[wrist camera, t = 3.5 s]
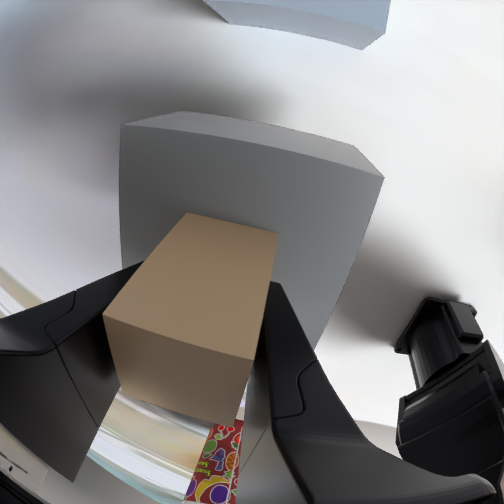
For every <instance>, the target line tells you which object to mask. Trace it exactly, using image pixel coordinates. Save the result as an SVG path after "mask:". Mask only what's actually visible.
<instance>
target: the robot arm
mask: <svg viewBox="0 0 504 504" xmlns="http://www.w3.org/2000/svg"><path fill="white" fill-rule="evenodd" d="M144 261H145V260H144ZM144 261H141V262H139V263H136V264H134V265H132V266H129V267H127V268H125V269H122V270H120V271H118V272H115V273H113V274H111V275H108V276H106V277H104V278H101V279H99V280H97V281H95V282H92V283H90V284H88V285H85V286H83V287H81V288H79V289H77V290H76V291H75V290H74V291H72V292H70V293H67V294H65V295H63V296H60V297H58V298H56V299H53V300H51V301H48V302H46V303H43V304H40V305H38V306H35V307H32V308H29V309H26V310H24V311H21V312H18V313H15V314H13V315H10V316H7V317H4V318H0V504H50V503H48V502H47V501H45V500H44V499H42V498H41V497H39V496H38V495H36V494H37V491H38V489H39V487H40V485H41V483H42V481H43V479H44V477H45V475H46V473H47V471H48V469H50V470H51V471H53V472H55V473H56V474H58V475H60V476H61V477H63V478H65V479H66V480H68V481H70V482H72V483H73V482H74V480H75V478H76V476H77V473H78V471H79V469H80V467H81V465H82V463H83V461H84V458H85V456H86V454H87V452H88V450H89V448H90V446H91V444H92V442H93V440H94V438H95V435H96V433H97V431H98V428H99V427H100V425H101V423H102V421H103V419H104V417H105V415H106V413H107V411H108V409H109V407H110V405H111V403H112V401H113V399H114V397H115V395H116V393H117V392H118V390H119V388H120V386H121V385H120V382H119V379H118V375H117V372H116V368H115V365H114V361H113V358H112V354H111V350H110V346H109V342H108V338H107V333H106V329H105V325H104V320H103V315H102V314H103V312H104V311H105V310H106V309H107V307H108V306H109V305H110V303H111V302H112V301H113V300H114V298H115V297H116V296H117V294H118V293H119V292H120V291H121V289H122V288H123V287H124V286H125V284H126V283H127V282H128V281H129V279H130V278H131V277H132V276H133V275H134V273H135V272H136V271H137V270H138V268H139V267H140V266H141V265H142V264H143V262H144ZM429 302H430V303H429ZM427 303H429V304H427ZM476 314H477V311H476V309H475V308H474V307H469V306H468V305H465V304H461V303H457V302H453V301H444V300H440V299H435V298H431V297H427V298H425V299H424V300H423V301H422V303H421V305H420V307H419V308H418V310H417V311H416V313H415V315H414V316H413V318H412V320H411V321H410V323H409V324H408V326H407V328H406V329H405V331H404V332H403V334H402V335H401V337H400V338H399V340H398V341H397V343H396V344H395V346H394V351H395V353H400V354H407V355H409V359H410V363H411V367H412V371H413V375H414V380H415V384H416V388H417V390H416V391H414V392H412V393H411V394H409V395H407V396H406V395H405V396H403V397H402V398H400V400H399V412H398V422H397V431H396V445H397V447H398V450H399V453H400V455H401V457H402V459H403V460H402V459H400V458H398V457H396V456H394V455H392V454H390V453H388V452H386V451H383V450H382V449H379V448H378V447H376V446H375V445H373V444H372V443H371V442H370V441H369V440H368V439H367V438H366V437H365V436H364V435H363V433H362V432H361V430H360V429H359V428H358V426H357V424H356V423H355V421H354V420H353V418H352V417H351V415H350V414H349V412H348V411H347V409H346V408H345V406H344V405H343V403H342V402H341V400H340V399H339V397H338V395H337V394H336V392H335V390H334V389H333V387H332V385H331V384H330V382H329V380H328V378H327V376H326V374H325V373H324V371H323V369H322V367H321V365H320V363H319V360H317V357H316V354H315V352H314V350H313V348H312V346H311V344H310V342H309V340H308V338H307V336H306V334H305V332H304V330H303V328H302V326H301V324H300V322H299V320H298V318H297V316H296V314H295V311H294V309H293V307H292V305H291V303H290V301H289V299H288V297H287V295H286V293H285V291H284V289H283V287H282V285H281V284H280V283H278V282H274V281H270V283H269V288H268V293H267V298H266V303H265V308H264V313H263V318H262V323H261V328H260V333H259V338H258V343H257V348H256V353H255V358H254V362H253V365H252V368H251V371H250V375H249V378H248V383H247V393H246V403H245V415H244V424H243V434H242V444H241V454H240V463H239V473H238V474H239V475H238V482H237V492H236V501H235V504H504V364H503V362H502V360H501V359H500V357H499V356H498V354H497V352H496V351H495V349H494V348H493V347H492V345H491V344H490V342H489V341H488V339H487V340H486V341H485V342H484V343H482V339H483V338H484V337H483V333H482V331H481V329H480V327H479V325H478V323H477V321H476V320H475V318H474V317H475V316H476Z"/></svg>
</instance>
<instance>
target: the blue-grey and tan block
mask: <svg viewBox="0 0 504 504" xmlns="http://www.w3.org/2000/svg"><path fill="white" fill-rule="evenodd" d="M203 1H204V2H205V3H206V4H207V5H209V6H210V7H211V8H212V9H213V10H215V11H216V12H217V13H218V14H219V15H220V16H222V17H223V18H224V19H225V20H226V21H227V22H228V23H229V24H234V25H245V26H253V27H261V28H268V29H275V30H281V31H287V32H292V33H297V34H302V35H307V36H312V37H316V38H320V39H324V40H328V41H332V42H336V43H340V44H343V45H347V46H350V47H354V48H357V49H360V50H363V49H364V48H366V47H367V46H368V45H370V44H371V43H372V42H374V41H375V40H377V39H378V38H379V37H381V36H382V35H383V34H385V31H386V25H387V19H388V13H389V7H390V1H391V0H203Z"/></svg>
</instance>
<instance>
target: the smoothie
mask: <svg viewBox="0 0 504 504" xmlns="http://www.w3.org/2000/svg"><path fill="white" fill-rule="evenodd" d="M243 424H244V421H242V420H237V419H235V421H234V424H233V427H228V426H224V425H220V424H216V425H215V426H213V427H212V428H211V429H210V432H209V435H208V437H207V440H206V443H205V445H204V448H203V451H202V453H201V456H200V459H199V461H198V464H197V466H196V469H195V472H194V474H193V477H192V479H191V482H190V485H189V487H188V490H187V492H186V495H185V498H184V501H183V502H182V504H235V501H236V492H237V482H238V475H239V474H238V473H239V463H240V454H241V444H242V434H243Z"/></svg>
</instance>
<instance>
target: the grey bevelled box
mask: <svg viewBox="0 0 504 504" xmlns="http://www.w3.org/2000/svg"><path fill="white" fill-rule="evenodd" d="M383 180H384V176H383V175H382V174H381V173H380V172H379V171H378V170H377V169H376V168H375V166H374V165H373V164H372V163H371V162H370V161H369V160H368V159H367V158H366V157H365V156H364V155H363V154H362V153H361V152H360V151H359V150H358V149H357V148H356V147H355V146H353V145H350V144H347V143H343V142H340V141H336V140H333V139H329V138H325V137H321V136H318V135H314V134H310V133H306V132H302V131H297V130H293V129H289V128H284V127H280V126H275V125H270V124H265V123H260V122H255V121H250V120H244V119H238V118H233V117H226V116H220V115H213V114H206V113H198V112H190V111H179V112H174V113H169V114H164V115H159V116H155V117H150V118H146V119H141V120H137V121H133V122H129V123H125V124H121V137H120V160H119V216H120V240H121V256H122V268H123V269H125V268H127V267H129V266H132V265H134V264H136V263H139V262H141V261H144V260H145V261H144V262H143V264H142V265H141V266H140V267H139V268H138V270H137V271H136V272H135V273H134V275H133V276H132V277H131V278H130V279H129V281H128V282H127V283H126V284H125V286H124V287H123V288H122V289H121V291H120V292H119V293H118V294H117V296H116V297H115V298H114V300H113V301H112V302H111V303H110V305H109V306H108V307H107V309H106V310H105V311H104V312H103V314H102V315H103V320H104V325H105V329H106V333H107V338H108V342H109V346H110V350H111V354H112V358H113V361H114V365H115V368H116V372H117V375H118V379H119V382H120V385H121V389H122V392H123V393H125V394H127V395H130V396H132V397H135V398H137V399H140V400H143V401H145V402H148V403H151V404H154V405H156V406H159V407H162V408H165V409H168V410H171V411H174V412H177V413H181V414H184V415H187V416H191V417H194V418H197V419H201V420H205V421H208V422H212V423H216V424H220V425H224V426H228V427H233V424H234V421H235V418H236V415H237V412H238V409H239V406H240V403H241V400H242V397H243V393H244V390H245V387H246V384H247V381H248V378H249V375H250V371H251V368H252V365H253V362H254V358H255V353H256V348H257V343H258V338H259V333H260V328H261V323H262V318H263V313H264V308H265V303H266V298H267V293H268V288H269V283H270V281H274V282H278V283H280V284H281V285H282V287H283V289H284V291H285V293H286V295H287V297H288V299H289V301H290V303H291V305H292V307H293V309H294V311H295V314H296V316H297V318H298V320H299V322H300V324H301V326H302V328H303V330H304V332H305V334H306V336H307V338H308V340H309V342H310V344H311V346H312V348H313V350H314V349H315V347H316V345H317V343H318V341H319V339H320V337H321V335H322V333H323V330H324V328H325V326H326V324H327V322H328V320H329V318H330V316H331V313H332V311H333V309H334V307H335V305H336V302H337V300H338V298H339V296H340V293H341V291H342V289H343V286H344V284H345V282H346V279H347V277H348V275H349V272H350V270H351V267H352V265H353V262H354V260H355V257H356V255H357V252H358V250H359V247H360V245H361V242H362V240H363V237H364V234H365V232H366V229H367V226H368V224H369V221H370V218H371V215H372V213H373V210H374V207H375V204H376V201H377V198H378V195H379V192H380V189H381V186H382V183H383Z"/></svg>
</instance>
